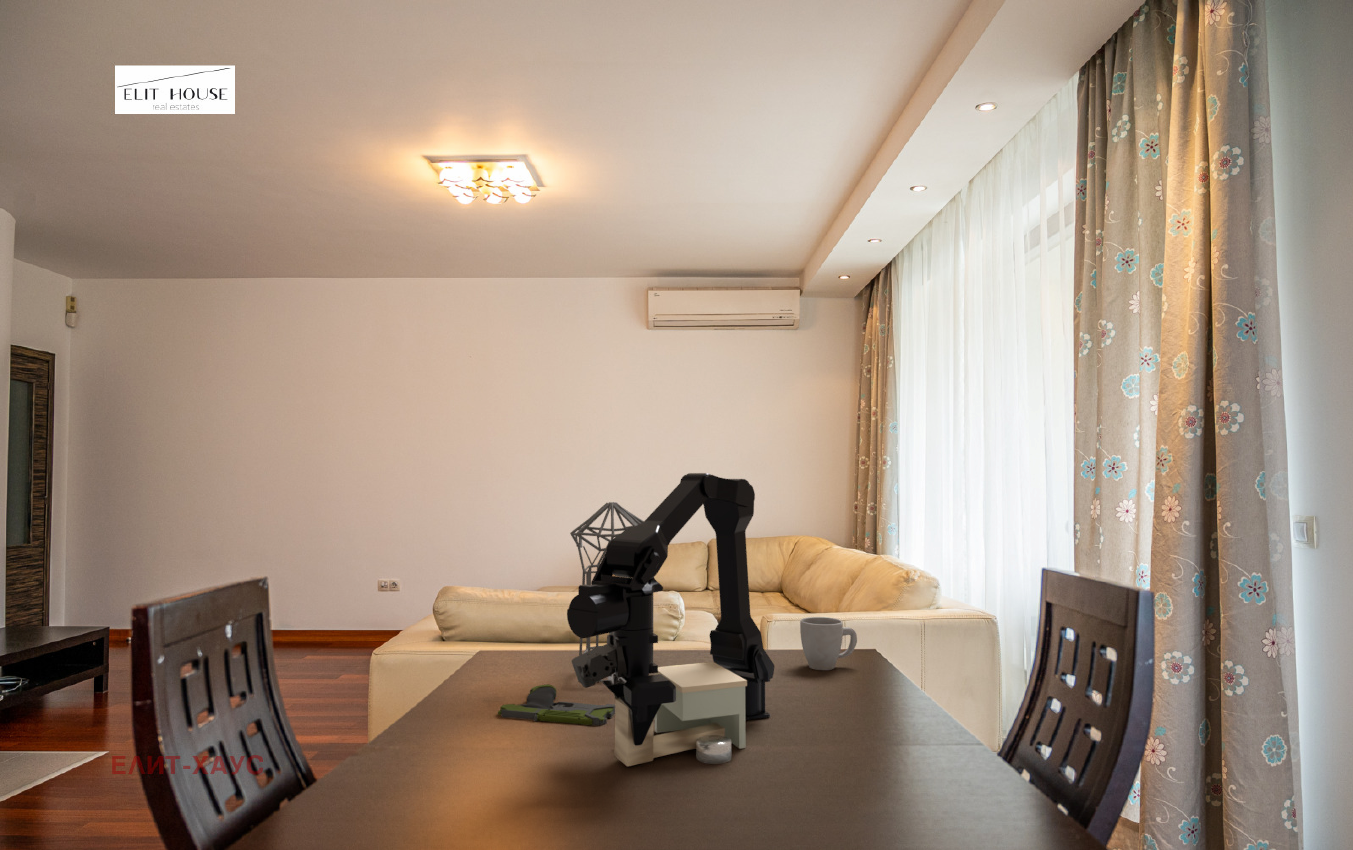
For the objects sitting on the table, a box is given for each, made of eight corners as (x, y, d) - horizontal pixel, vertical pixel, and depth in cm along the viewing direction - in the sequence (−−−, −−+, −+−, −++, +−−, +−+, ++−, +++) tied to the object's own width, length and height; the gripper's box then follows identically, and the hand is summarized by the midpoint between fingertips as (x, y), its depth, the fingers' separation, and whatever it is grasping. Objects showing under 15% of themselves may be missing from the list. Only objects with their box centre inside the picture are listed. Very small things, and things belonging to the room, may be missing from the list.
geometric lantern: (652, 687, 147) (648, 503, 149) (570, 689, 147) (567, 505, 149) (656, 666, 163) (652, 499, 165) (581, 667, 163) (578, 501, 165)
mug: (806, 672, 158) (806, 625, 159) (796, 662, 167) (795, 617, 168) (863, 671, 159) (863, 624, 160) (850, 661, 168) (849, 616, 169)
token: (721, 750, 114) (721, 733, 114) (737, 761, 110) (737, 743, 110) (690, 755, 112) (690, 737, 112) (705, 767, 108) (705, 748, 108)
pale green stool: (713, 723, 126) (713, 661, 127) (747, 748, 114) (747, 680, 115) (653, 730, 122) (653, 667, 123) (681, 757, 111) (681, 687, 111)
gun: (629, 704, 139) (602, 733, 124) (530, 696, 143) (493, 723, 128) (629, 690, 139) (603, 717, 124) (530, 682, 143) (493, 707, 129)
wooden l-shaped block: (712, 734, 118) (713, 681, 118) (727, 743, 114) (728, 689, 114) (614, 755, 109) (615, 699, 110) (627, 766, 106) (628, 707, 106)
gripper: (562, 619, 115) (561, 726, 114) (595, 644, 98) (594, 771, 97) (633, 614, 119) (633, 717, 118) (677, 637, 102) (677, 759, 101)
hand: (632, 739), depth 109 cm, fingers closed on wooden l-shaped block, 4 cm apart
